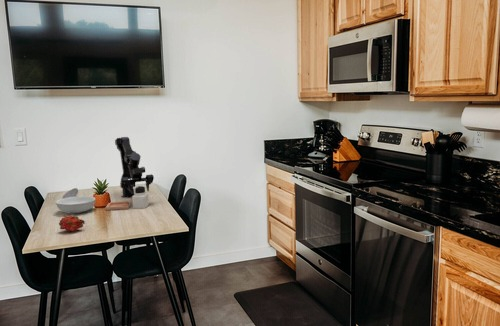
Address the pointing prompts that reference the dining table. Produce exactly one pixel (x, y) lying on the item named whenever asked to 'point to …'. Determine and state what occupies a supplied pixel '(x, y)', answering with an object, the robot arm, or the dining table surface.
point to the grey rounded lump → (71, 193)
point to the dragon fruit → (71, 223)
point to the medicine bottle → (140, 198)
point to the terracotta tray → (118, 205)
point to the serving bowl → (75, 204)
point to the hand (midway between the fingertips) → (140, 192)
